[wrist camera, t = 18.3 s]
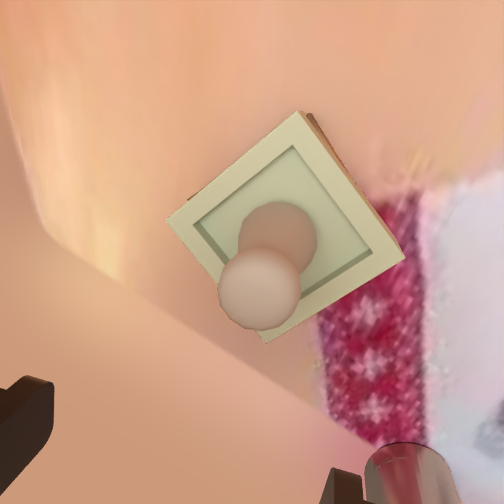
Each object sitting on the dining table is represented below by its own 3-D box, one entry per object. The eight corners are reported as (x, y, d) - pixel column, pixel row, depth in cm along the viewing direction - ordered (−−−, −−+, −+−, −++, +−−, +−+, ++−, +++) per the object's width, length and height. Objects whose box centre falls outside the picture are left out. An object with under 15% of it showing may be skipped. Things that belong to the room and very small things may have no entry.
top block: (395, 237, 35) (405, 258, 30) (275, 314, 39) (266, 343, 34) (302, 111, 33) (296, 110, 28) (188, 206, 38) (164, 220, 32)
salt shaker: (280, 281, 34) (256, 371, 21) (229, 232, 33) (175, 297, 21) (333, 233, 32) (340, 301, 20) (280, 180, 31) (253, 217, 19)
